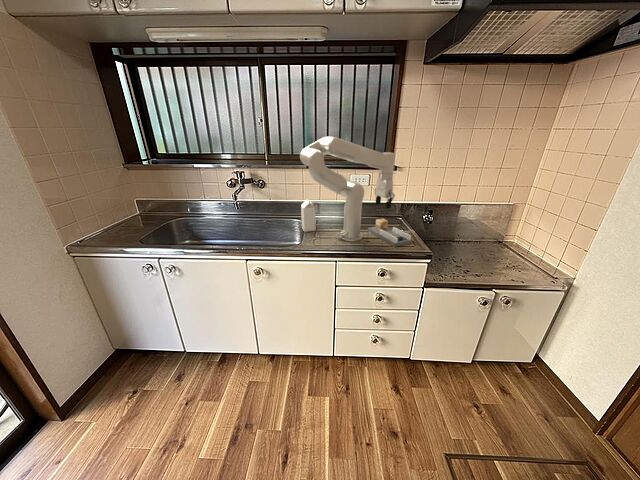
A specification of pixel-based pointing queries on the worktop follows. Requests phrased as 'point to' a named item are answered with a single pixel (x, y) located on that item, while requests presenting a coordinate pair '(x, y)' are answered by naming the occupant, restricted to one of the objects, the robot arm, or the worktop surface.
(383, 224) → the maple block
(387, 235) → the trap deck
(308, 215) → the milk carton
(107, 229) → the worktop surface
